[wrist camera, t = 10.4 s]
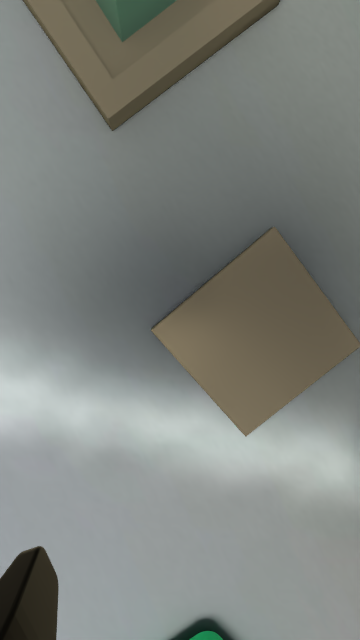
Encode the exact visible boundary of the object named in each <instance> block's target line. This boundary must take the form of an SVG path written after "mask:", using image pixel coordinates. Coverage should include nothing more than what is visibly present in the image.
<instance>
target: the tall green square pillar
mask: <svg viewBox="0 0 360 640" xmlns="http://www.w3.org/2000/svg"><path fill="white" fill-rule="evenodd" d="M175 1H177V0H96V2H97V4H98V5H99V7H100V8H101V10H102V11H103V13H104V15H105V16H106V18H107V19H108V21H109V22H110V24H111V26H112V27H113V29H114V30H115V32H116V33H117V35H118V37H119V38H120V40H121V41H122V42H123V41H125V40H126V39H127V38H129V37H130V36H131V35H133V34H134V33H135V32H136V31H138V30H139V29H140V28H142V27H143V26H144V25H145V24H147V23H148V22H149V21H151V20H152V19H153V18H155V17H156V16H157V15H158V14H160V13H161V12H162V11H164V10H165V9H166V8H167V7H169V6H170V5H171V4H173V3H174V2H175Z"/></svg>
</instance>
